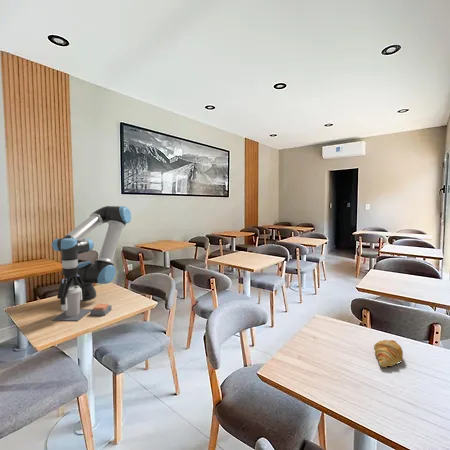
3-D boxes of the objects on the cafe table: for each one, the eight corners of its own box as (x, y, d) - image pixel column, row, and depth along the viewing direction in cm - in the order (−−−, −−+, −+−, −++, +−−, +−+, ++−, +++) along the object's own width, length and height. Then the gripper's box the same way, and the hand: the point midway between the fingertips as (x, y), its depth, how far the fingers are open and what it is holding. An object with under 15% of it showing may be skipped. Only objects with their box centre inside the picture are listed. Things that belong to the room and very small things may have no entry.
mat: (68, 309, 153) (68, 308, 153) (92, 310, 152) (92, 309, 152) (51, 320, 139) (51, 319, 139) (77, 321, 138) (77, 320, 138)
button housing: (98, 309, 153) (97, 305, 153) (111, 309, 153) (111, 305, 153) (90, 315, 145) (90, 310, 145) (104, 315, 145) (104, 311, 145)
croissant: (390, 381, 99) (403, 368, 95) (364, 360, 104) (376, 346, 101) (399, 355, 114) (411, 343, 111) (377, 338, 120) (387, 326, 116)
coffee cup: (76, 318, 141) (74, 290, 139) (58, 317, 141) (57, 290, 139) (86, 310, 150) (84, 285, 149) (69, 310, 150) (68, 284, 149)
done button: (98, 307, 152) (98, 303, 152) (108, 307, 152) (108, 303, 151) (93, 311, 146) (93, 307, 146) (103, 312, 146) (103, 307, 146)
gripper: (77, 261, 155) (78, 296, 158) (47, 273, 131) (50, 314, 133) (89, 261, 155) (91, 296, 157) (62, 273, 130) (64, 314, 133)
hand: (72, 304), depth 145 cm, fingers open, 13 cm apart
